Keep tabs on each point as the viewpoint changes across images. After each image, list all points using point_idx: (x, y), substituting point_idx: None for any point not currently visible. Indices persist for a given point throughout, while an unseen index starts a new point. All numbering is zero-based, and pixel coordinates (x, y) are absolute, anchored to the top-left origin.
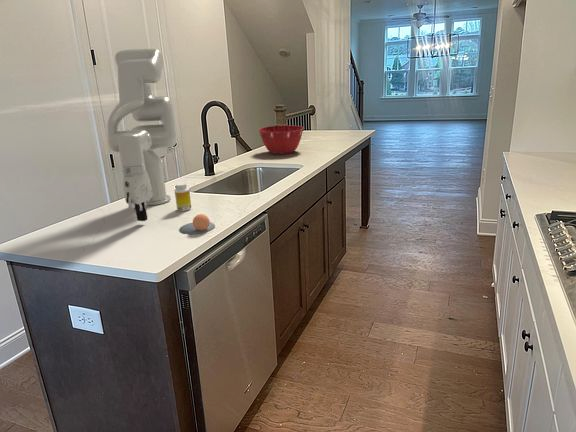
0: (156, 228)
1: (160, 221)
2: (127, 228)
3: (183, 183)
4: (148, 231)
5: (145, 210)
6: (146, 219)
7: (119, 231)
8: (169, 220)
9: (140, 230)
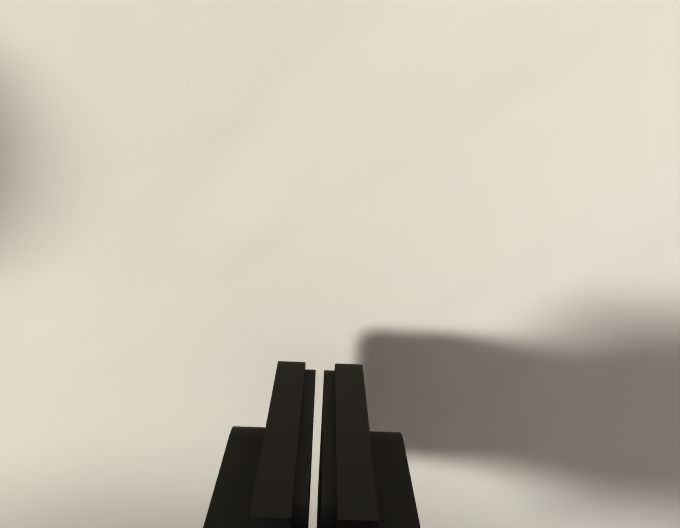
0: (508, 20)
1: (134, 168)
2: (518, 492)
3: None
4: (667, 89)
5: (283, 492)
6: (303, 365)
7: (636, 523)
8: (32, 9)
9: (608, 262)
